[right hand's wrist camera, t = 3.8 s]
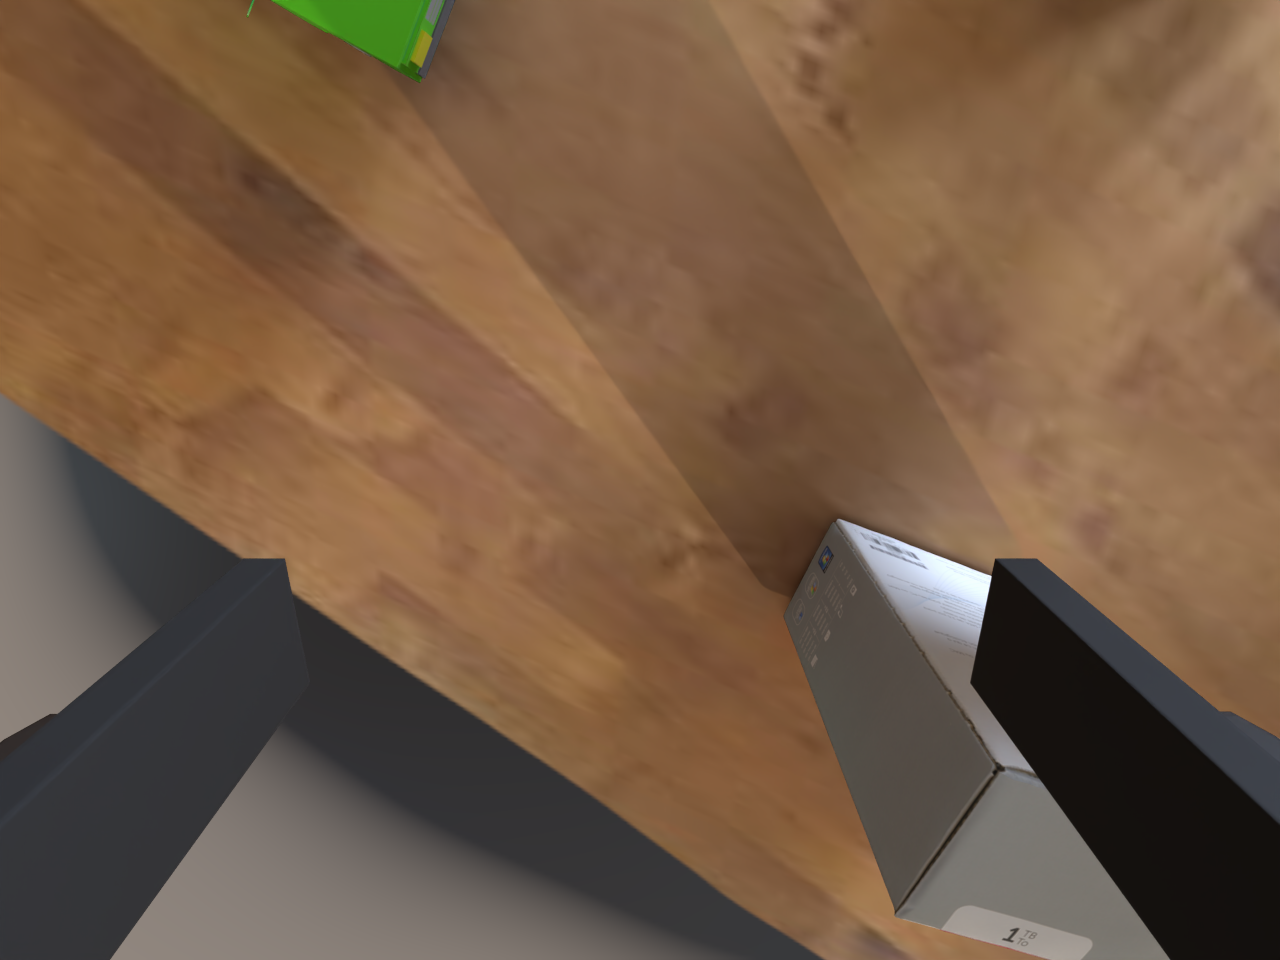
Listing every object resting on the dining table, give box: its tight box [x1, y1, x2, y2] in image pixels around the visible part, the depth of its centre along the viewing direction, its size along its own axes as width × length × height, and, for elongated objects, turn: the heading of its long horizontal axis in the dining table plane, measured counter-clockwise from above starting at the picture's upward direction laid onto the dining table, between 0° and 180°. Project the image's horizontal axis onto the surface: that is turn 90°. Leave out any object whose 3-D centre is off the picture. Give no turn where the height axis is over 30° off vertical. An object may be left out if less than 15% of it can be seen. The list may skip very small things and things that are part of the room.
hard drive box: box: [784, 519, 1170, 960], centre depth 33 cm, size 16×8×20 cm, turn 69°
